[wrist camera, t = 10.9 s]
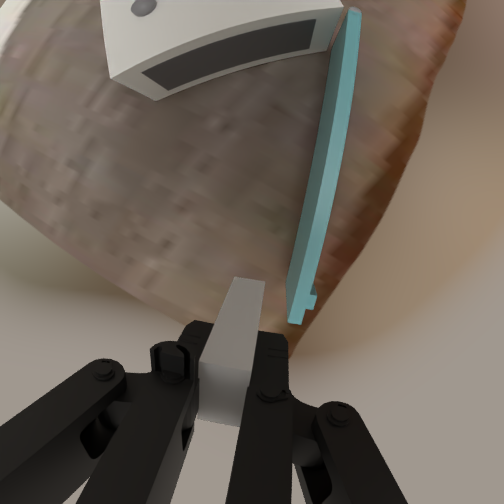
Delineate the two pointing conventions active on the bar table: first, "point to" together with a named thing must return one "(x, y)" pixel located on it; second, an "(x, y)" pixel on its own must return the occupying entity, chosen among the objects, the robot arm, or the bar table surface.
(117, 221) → the bar table surface
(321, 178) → the side door
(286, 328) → the bar table surface
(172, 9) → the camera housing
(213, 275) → the bar table surface
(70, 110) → the bar table surface
